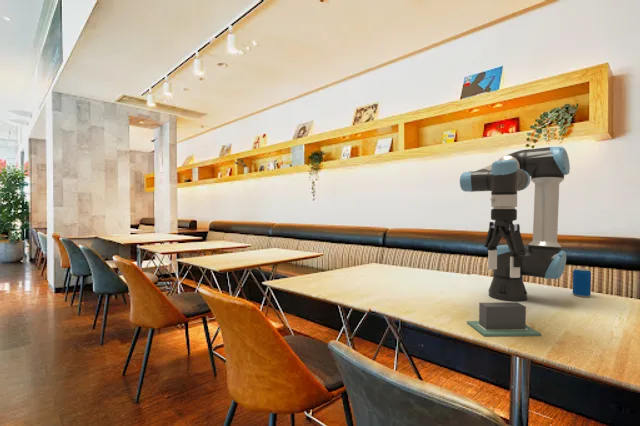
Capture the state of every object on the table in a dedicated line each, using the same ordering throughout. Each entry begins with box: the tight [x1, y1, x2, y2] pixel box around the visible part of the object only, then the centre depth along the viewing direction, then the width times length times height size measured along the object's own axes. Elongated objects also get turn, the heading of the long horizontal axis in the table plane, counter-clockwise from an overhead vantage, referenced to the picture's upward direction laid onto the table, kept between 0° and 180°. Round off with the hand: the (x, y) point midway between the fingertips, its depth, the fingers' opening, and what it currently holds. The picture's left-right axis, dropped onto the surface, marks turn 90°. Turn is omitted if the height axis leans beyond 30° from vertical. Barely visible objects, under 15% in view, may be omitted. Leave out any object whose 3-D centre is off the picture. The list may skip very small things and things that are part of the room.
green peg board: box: [466, 320, 542, 337], centre depth 116 cm, size 18×12×6 cm, turn 91°
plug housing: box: [478, 301, 527, 330], centre depth 116 cm, size 13×5×7 cm, turn 91°
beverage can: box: [572, 267, 592, 298], centre depth 158 cm, size 6×6×12 cm
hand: (503, 273), depth 115 cm, fingers open, 13 cm apart
